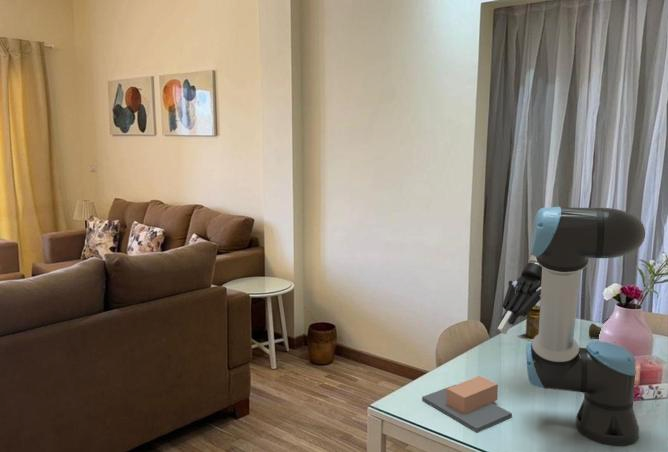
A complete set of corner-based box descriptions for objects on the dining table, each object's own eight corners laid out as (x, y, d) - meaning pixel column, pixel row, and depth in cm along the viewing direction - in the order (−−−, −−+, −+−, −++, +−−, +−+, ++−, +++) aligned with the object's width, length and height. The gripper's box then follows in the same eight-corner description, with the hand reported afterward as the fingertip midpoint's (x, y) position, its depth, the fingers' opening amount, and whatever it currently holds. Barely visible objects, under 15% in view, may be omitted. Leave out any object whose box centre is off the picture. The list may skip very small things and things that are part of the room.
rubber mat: (511, 417, 155) (511, 413, 154) (476, 432, 147) (476, 428, 147) (455, 388, 173) (455, 384, 173) (422, 400, 166) (422, 396, 165)
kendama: (625, 333, 216) (612, 347, 201) (599, 328, 223) (585, 342, 207) (625, 318, 216) (613, 331, 200) (599, 314, 222) (585, 327, 207)
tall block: (497, 384, 161) (464, 397, 154) (497, 400, 162) (464, 414, 155) (479, 375, 167) (446, 388, 160) (479, 391, 168) (446, 404, 160)
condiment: (547, 337, 213) (548, 307, 211) (533, 342, 208) (534, 312, 206) (531, 332, 219) (532, 303, 217) (517, 336, 214) (518, 307, 212)
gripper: (562, 279, 167) (525, 344, 161) (526, 271, 178) (490, 331, 172) (551, 265, 163) (513, 330, 157) (516, 258, 174) (478, 319, 168)
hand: (501, 331), depth 165 cm, fingers closed
